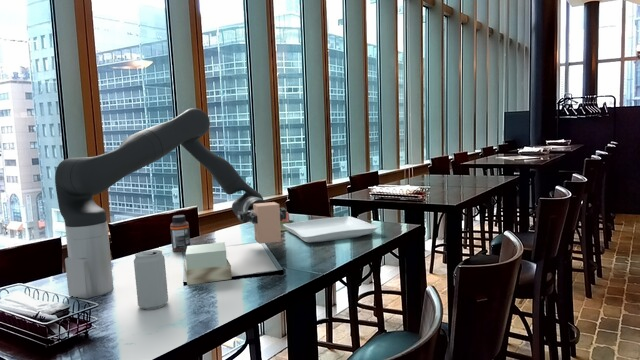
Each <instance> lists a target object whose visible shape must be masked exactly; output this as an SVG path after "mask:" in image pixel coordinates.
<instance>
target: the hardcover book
mask: <svg viewBox="0 0 640 360" xmlns="http://www.w3.org/2000/svg"><path fill="white" fill-rule="evenodd" d="M286 217H287V218H286V219H283V220H282V221H280V228H281V231H288V230H287V229H286V228H285V227H284V226H283V224H288V223H291V222H290V214H289V212H288V211H286Z"/></svg>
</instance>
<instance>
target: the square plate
mask: <svg viewBox="0 0 640 360" xmlns="http://www.w3.org/2000/svg"><path fill="white" fill-rule="evenodd" d="M283 226H284V227H285V228H286V229H287V230H286V231H288V232H290V233H291V234H293V235H295V236H297V237H298V238H300V240H302V241H304V242H306V243H322V242H329V241H330V242H331V241H337V240H343V239H344V240H345V239H349V238H350V239H353V238H359V237H362V236H366V235H370V234H372V233H374V232H375V231H376V230H377V229H379V227H378V226H376V225H374V224H372V223H369V222H367V221H366V220H365V221H364V220H363V219H359V218H356V217H353V216H349V215H348V216H347V215H346V216H337V217H325V218H316V219H307V220H303V221H296V222H290V223H288V224H283Z"/></svg>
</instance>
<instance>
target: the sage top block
mask: <svg viewBox="0 0 640 360" xmlns="http://www.w3.org/2000/svg"><path fill="white" fill-rule="evenodd" d="M227 257H228V256H227V248H226V242H225V241H224V242H213V243H205V244H204V243H203V244H194V245H190V246H187V250H185V261H186V266H187V270H192V269H201V268H210V267H219V266H227V260H228V258H227Z"/></svg>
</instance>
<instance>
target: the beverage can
mask: <svg viewBox="0 0 640 360" xmlns="http://www.w3.org/2000/svg"><path fill="white" fill-rule="evenodd" d="M134 256H135V257H134V260H133V267H134V275H135V276H134V277H135V286H136V296H137V297H136V298H137V306H138V307H139V308H141V309H143V310H157V309H160V308H162V307H165V305H166V304H167V303H168V302H169V294H168V293H169V292H168V283H167V282H168V281H167V272H166V259H165V255H164V254H163V251H162V250H159V249H151V250H144V251H140V252H138V253H137V252H136V253H135V254H134Z"/></svg>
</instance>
